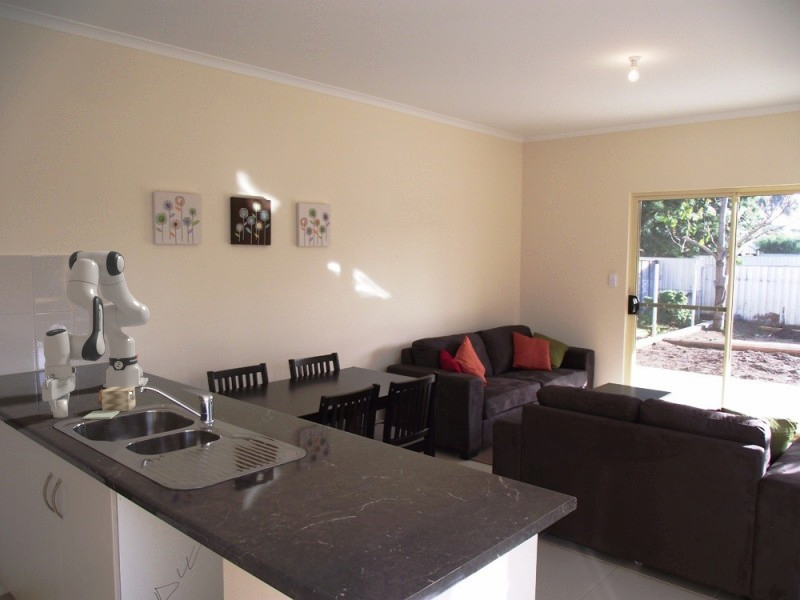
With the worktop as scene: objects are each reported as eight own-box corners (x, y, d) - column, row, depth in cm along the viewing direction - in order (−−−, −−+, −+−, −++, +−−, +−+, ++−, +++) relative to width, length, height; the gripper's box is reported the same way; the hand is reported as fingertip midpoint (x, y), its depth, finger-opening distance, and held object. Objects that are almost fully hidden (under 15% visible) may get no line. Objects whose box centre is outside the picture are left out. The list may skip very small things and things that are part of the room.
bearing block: (102, 412, 245) (101, 391, 244) (110, 406, 252) (109, 386, 252) (128, 411, 245) (127, 390, 245) (135, 406, 253) (134, 386, 253)
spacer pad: (93, 412, 243) (93, 410, 243) (120, 412, 244) (119, 410, 244) (82, 419, 233) (82, 417, 233) (110, 418, 234) (110, 416, 234)
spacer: (56, 414, 242) (56, 399, 241) (70, 414, 242) (69, 398, 242) (50, 418, 237) (49, 402, 236) (64, 417, 237) (63, 402, 237)
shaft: (98, 406, 245) (97, 391, 245) (104, 402, 251) (103, 388, 251) (129, 405, 246) (128, 390, 246) (134, 401, 252) (133, 387, 252)
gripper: (54, 377, 228) (56, 414, 229) (77, 367, 248) (79, 401, 249) (36, 377, 227) (38, 414, 228) (61, 367, 247) (63, 401, 248)
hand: (59, 407), depth 239 cm, fingers open, 8 cm apart
